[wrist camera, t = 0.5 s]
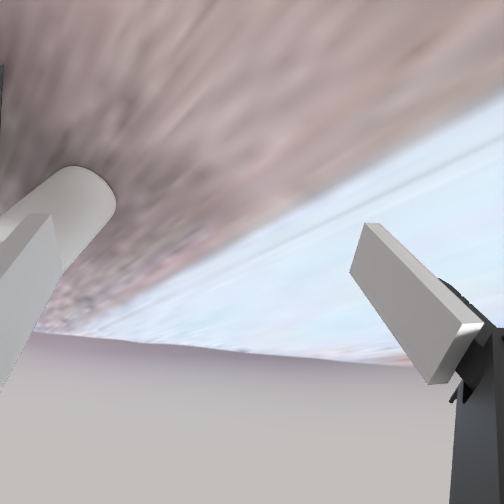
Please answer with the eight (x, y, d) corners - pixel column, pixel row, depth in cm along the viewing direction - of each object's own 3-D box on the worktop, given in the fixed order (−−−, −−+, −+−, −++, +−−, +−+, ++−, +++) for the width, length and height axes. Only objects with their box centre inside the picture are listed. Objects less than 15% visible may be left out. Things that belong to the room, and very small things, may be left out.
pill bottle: (43, 175, 42) (-63, 255, 31) (88, 155, 39) (-13, 237, 28) (86, 225, 46) (6, 311, 36) (130, 211, 43) (57, 301, 32)
